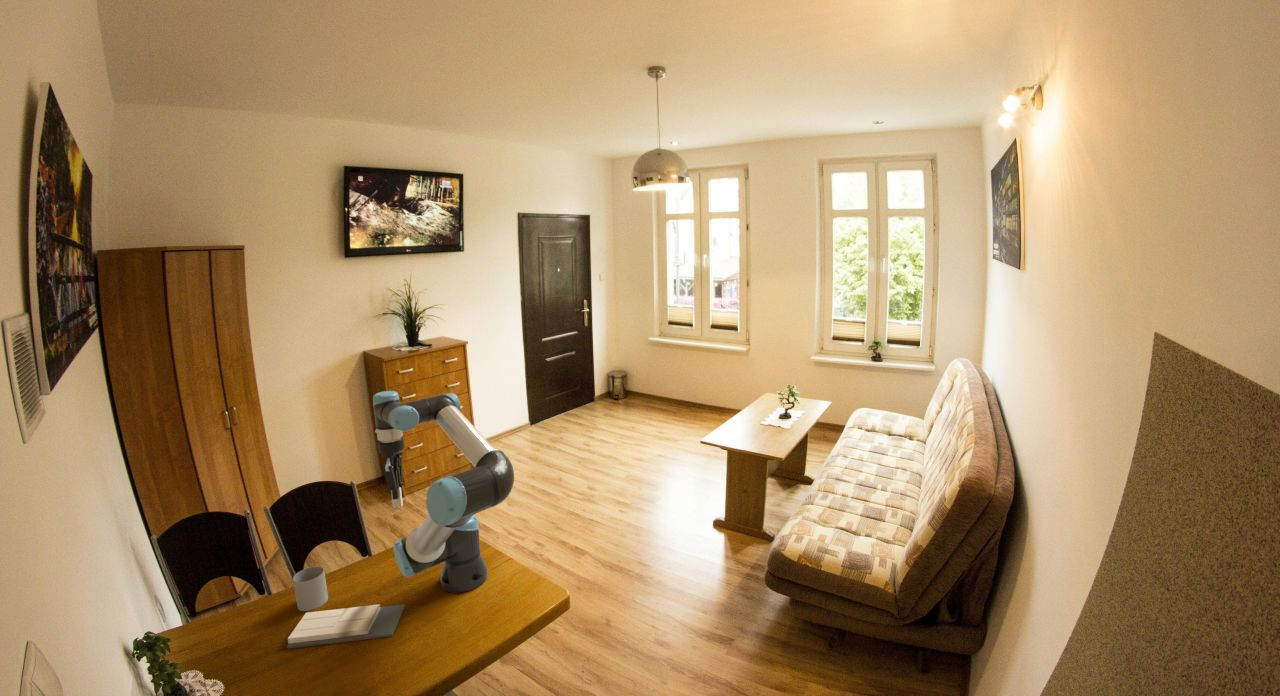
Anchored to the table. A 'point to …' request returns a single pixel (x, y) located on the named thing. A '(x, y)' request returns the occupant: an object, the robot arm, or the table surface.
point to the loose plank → (355, 621)
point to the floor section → (321, 623)
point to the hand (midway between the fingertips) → (397, 506)
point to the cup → (310, 588)
